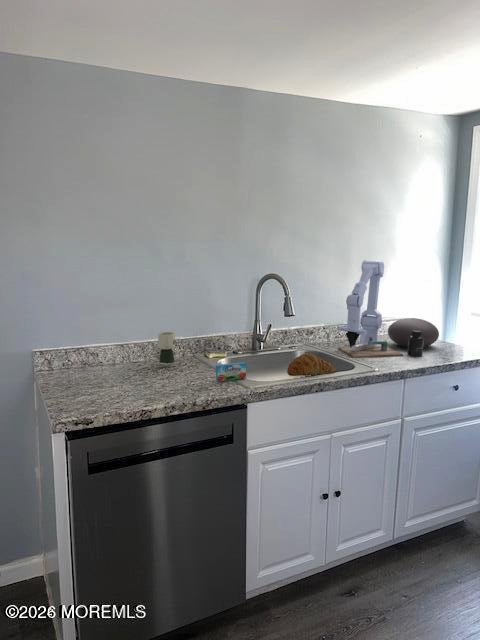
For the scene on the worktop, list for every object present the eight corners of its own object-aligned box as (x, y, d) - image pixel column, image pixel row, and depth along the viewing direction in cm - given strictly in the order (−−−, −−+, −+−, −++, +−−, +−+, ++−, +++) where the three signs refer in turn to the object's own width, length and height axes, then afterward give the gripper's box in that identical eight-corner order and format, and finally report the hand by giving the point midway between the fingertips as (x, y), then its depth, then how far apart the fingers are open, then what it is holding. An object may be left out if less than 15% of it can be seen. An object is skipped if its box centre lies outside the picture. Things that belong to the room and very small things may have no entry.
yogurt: (244, 377, 181) (244, 362, 180) (246, 378, 179) (246, 363, 178) (215, 380, 176) (215, 364, 175) (217, 381, 174) (217, 365, 173)
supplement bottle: (420, 358, 217) (422, 332, 215) (405, 356, 221) (407, 331, 219) (424, 355, 222) (426, 330, 220) (409, 353, 226) (411, 329, 224)
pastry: (294, 379, 180) (295, 359, 178) (279, 371, 191) (279, 352, 190) (339, 374, 187) (340, 355, 186) (322, 367, 199) (323, 348, 198)
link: (369, 346, 234) (370, 335, 233) (375, 347, 231) (376, 337, 230) (350, 350, 224) (350, 339, 224) (356, 351, 222) (357, 340, 221)
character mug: (177, 365, 196) (177, 335, 194) (160, 366, 194) (160, 336, 192) (172, 359, 206) (172, 330, 204) (156, 360, 204) (156, 331, 202)
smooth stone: (376, 344, 247) (378, 316, 244) (412, 340, 257) (414, 313, 255) (410, 354, 225) (413, 323, 222) (448, 350, 235) (451, 321, 232)
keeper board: (338, 349, 233) (338, 338, 232) (384, 347, 237) (385, 337, 237) (353, 357, 215) (354, 346, 215) (403, 356, 220) (404, 345, 219)
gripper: (336, 318, 226) (334, 345, 228) (361, 322, 215) (359, 351, 217) (345, 317, 231) (343, 344, 233) (370, 321, 220) (368, 349, 222)
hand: (352, 347), depth 225 cm, fingers closed
